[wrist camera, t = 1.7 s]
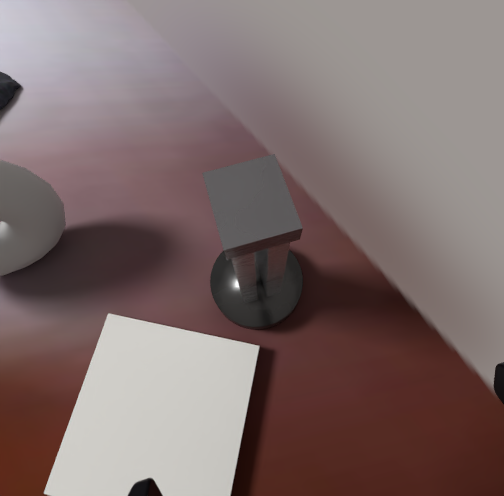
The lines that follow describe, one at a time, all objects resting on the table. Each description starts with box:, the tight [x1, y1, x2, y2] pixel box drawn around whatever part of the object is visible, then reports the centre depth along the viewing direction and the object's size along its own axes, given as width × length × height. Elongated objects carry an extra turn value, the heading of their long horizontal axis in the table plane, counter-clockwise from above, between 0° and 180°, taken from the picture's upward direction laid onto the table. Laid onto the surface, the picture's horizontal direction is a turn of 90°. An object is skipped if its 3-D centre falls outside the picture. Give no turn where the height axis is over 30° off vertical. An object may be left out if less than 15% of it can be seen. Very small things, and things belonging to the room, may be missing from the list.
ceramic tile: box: [44, 313, 260, 496], centre depth 20 cm, size 10×10×1 cm
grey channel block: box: [203, 154, 303, 330], centre depth 18 cm, size 6×6×12 cm
